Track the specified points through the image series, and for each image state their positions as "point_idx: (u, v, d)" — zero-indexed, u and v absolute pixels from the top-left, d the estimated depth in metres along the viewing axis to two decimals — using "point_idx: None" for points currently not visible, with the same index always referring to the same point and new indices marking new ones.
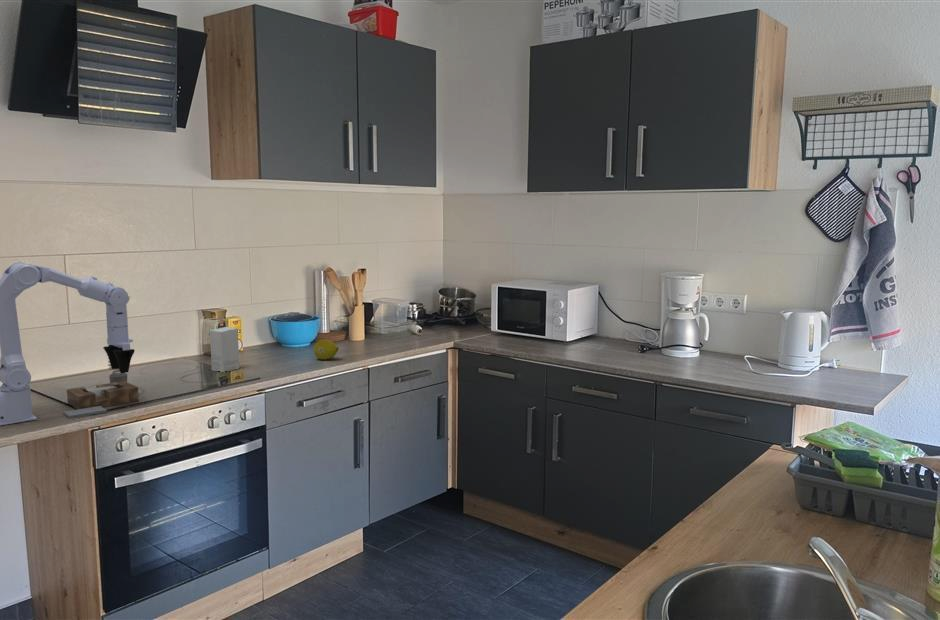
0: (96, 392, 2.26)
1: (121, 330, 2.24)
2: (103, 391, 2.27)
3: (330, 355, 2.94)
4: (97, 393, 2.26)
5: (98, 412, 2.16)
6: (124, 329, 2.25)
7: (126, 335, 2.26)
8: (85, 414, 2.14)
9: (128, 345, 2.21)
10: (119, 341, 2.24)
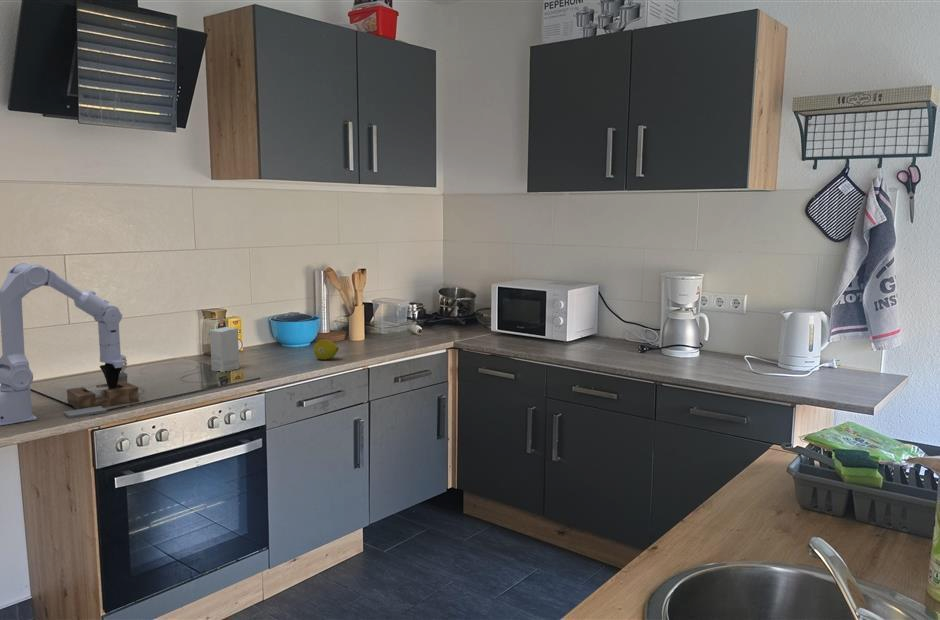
0: (96, 392, 2.26)
1: (113, 348, 2.27)
2: (103, 391, 2.27)
3: (330, 355, 2.94)
4: (97, 393, 2.26)
5: (98, 412, 2.16)
6: (116, 347, 2.28)
7: (118, 352, 2.29)
8: (85, 414, 2.14)
9: (120, 363, 2.25)
10: (111, 359, 2.27)
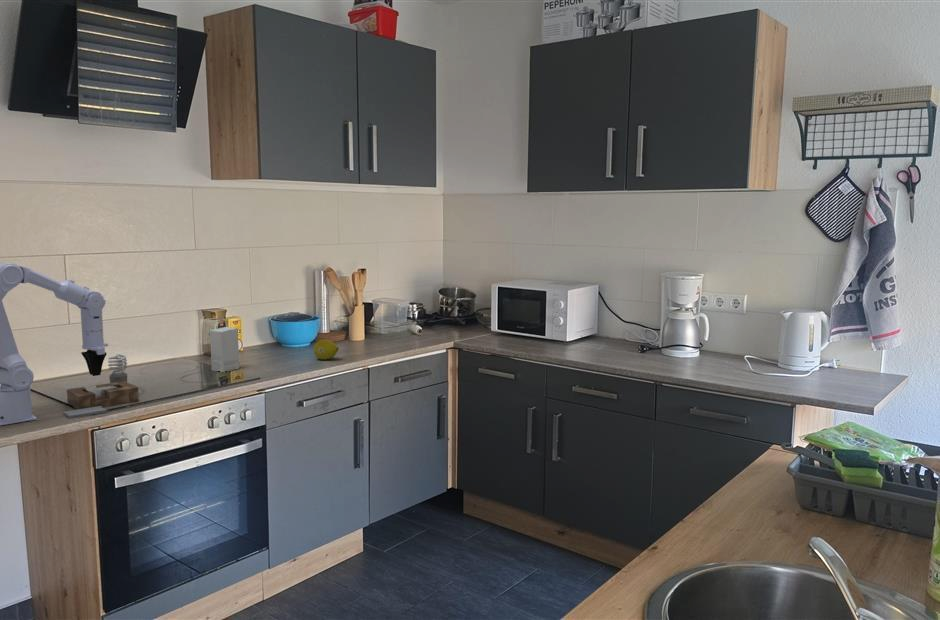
0: (96, 392, 2.26)
1: (96, 334, 2.23)
2: (103, 391, 2.27)
3: (330, 355, 2.94)
4: (97, 393, 2.26)
5: (98, 412, 2.16)
6: (99, 333, 2.24)
7: (101, 339, 2.25)
8: (85, 414, 2.14)
9: (103, 349, 2.21)
10: (94, 345, 2.23)
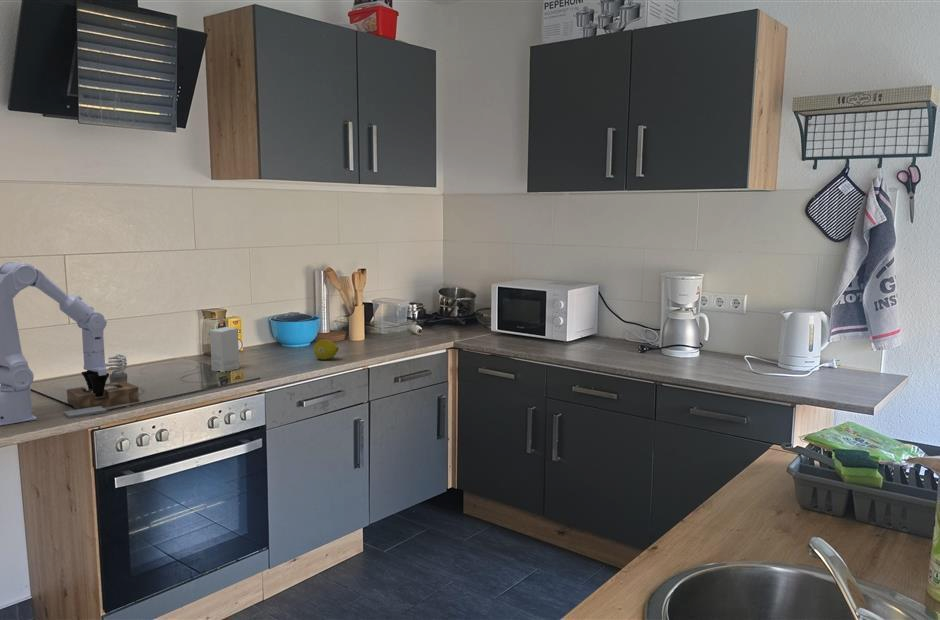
0: None
1: (97, 355, 2.24)
2: None
3: (330, 355, 2.94)
4: None
5: (98, 412, 2.16)
6: (100, 354, 2.25)
7: (102, 360, 2.26)
8: (85, 414, 2.14)
9: (104, 370, 2.22)
10: (95, 366, 2.24)
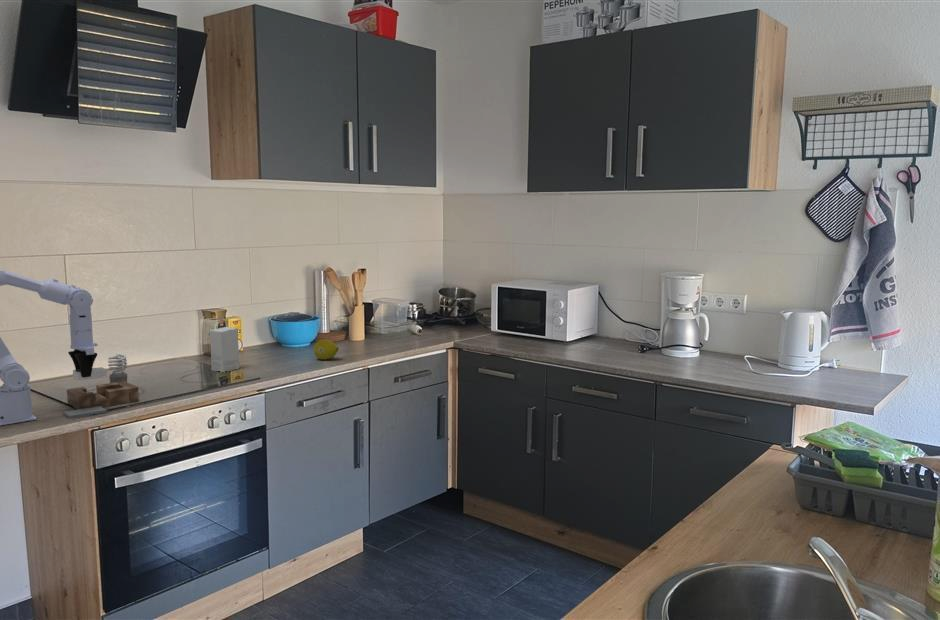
0: None
1: (85, 334, 2.16)
2: None
3: (330, 355, 2.94)
4: None
5: (98, 412, 2.16)
6: (88, 333, 2.16)
7: (90, 339, 2.17)
8: (85, 414, 2.14)
9: (92, 349, 2.13)
10: (83, 345, 2.16)
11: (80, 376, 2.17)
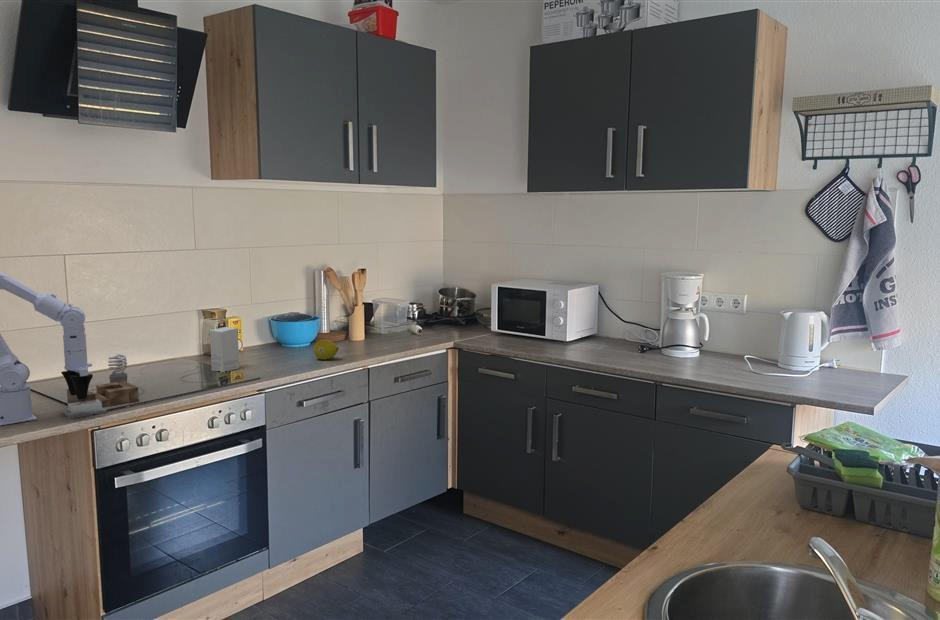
0: (78, 407, 2.13)
1: (79, 354, 2.11)
2: (86, 405, 2.15)
3: (330, 355, 2.94)
4: (79, 408, 2.14)
5: (98, 412, 2.16)
6: (82, 353, 2.12)
7: (84, 359, 2.13)
8: (85, 414, 2.14)
9: (86, 370, 2.09)
10: (77, 366, 2.11)
11: (74, 410, 2.13)
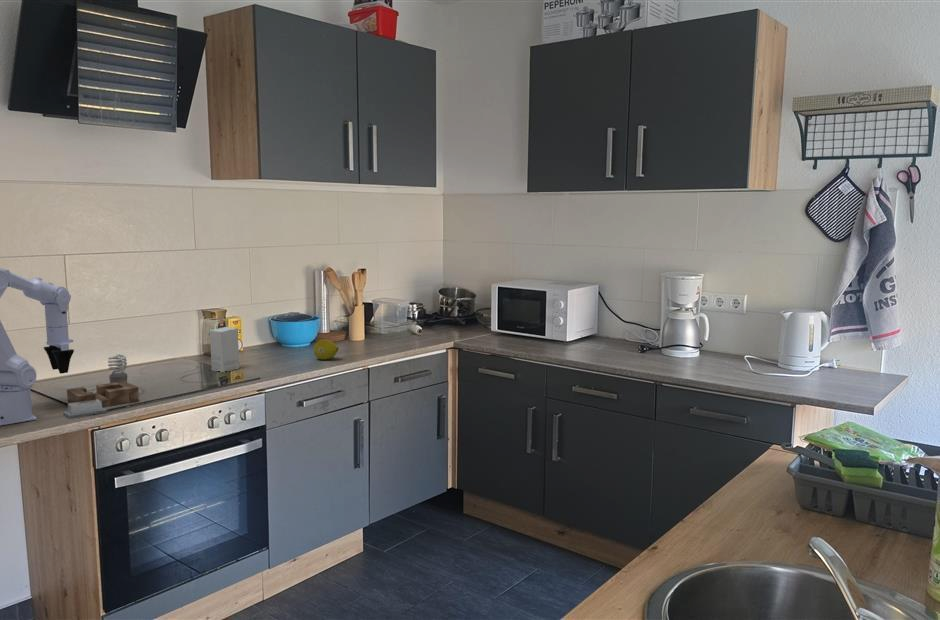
0: (78, 407, 2.13)
1: (60, 330, 2.22)
2: (86, 405, 2.15)
3: (330, 355, 2.94)
4: (79, 408, 2.14)
5: (98, 412, 2.16)
6: (63, 329, 2.22)
7: (66, 335, 2.23)
8: (85, 414, 2.14)
9: (66, 345, 2.19)
10: (58, 341, 2.22)
11: (74, 410, 2.13)
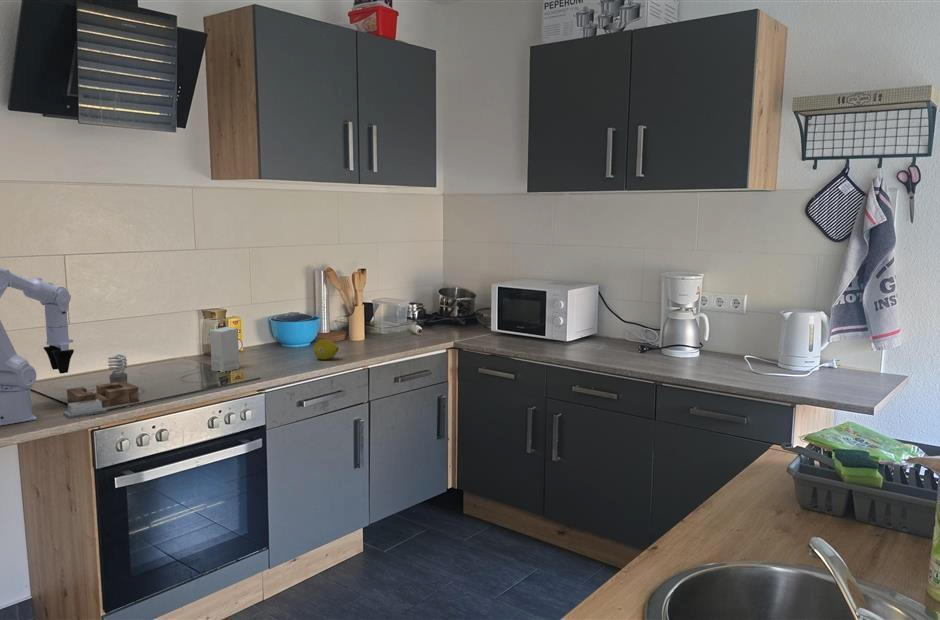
0: (78, 407, 2.13)
1: (60, 330, 2.22)
2: (86, 405, 2.15)
3: (330, 355, 2.94)
4: (79, 408, 2.14)
5: (98, 412, 2.16)
6: (63, 329, 2.22)
7: (66, 335, 2.23)
8: (85, 414, 2.14)
9: (66, 345, 2.19)
10: (58, 341, 2.22)
11: (74, 410, 2.13)
